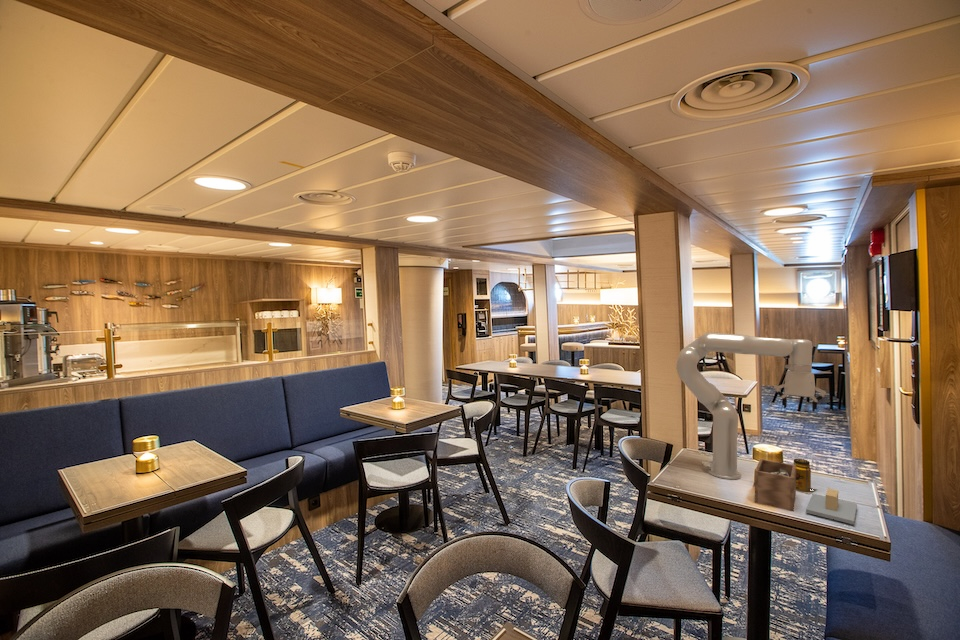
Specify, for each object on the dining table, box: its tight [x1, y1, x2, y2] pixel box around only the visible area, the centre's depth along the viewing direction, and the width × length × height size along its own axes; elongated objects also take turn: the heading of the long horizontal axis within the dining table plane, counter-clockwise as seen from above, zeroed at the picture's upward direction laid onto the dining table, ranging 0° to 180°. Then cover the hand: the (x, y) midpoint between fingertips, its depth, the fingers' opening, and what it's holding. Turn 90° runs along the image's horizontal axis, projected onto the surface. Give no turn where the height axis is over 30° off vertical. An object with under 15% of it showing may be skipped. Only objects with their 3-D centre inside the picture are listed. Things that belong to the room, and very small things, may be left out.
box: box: [754, 458, 797, 512], centre depth 167 cm, size 12×18×12 cm, turn 142°
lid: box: [805, 488, 858, 525], centre depth 156 cm, size 13×19×7 cm
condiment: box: [793, 458, 818, 495], centre depth 177 cm, size 7×8×12 cm
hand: (799, 409), depth 181 cm, fingers open, 9 cm apart
